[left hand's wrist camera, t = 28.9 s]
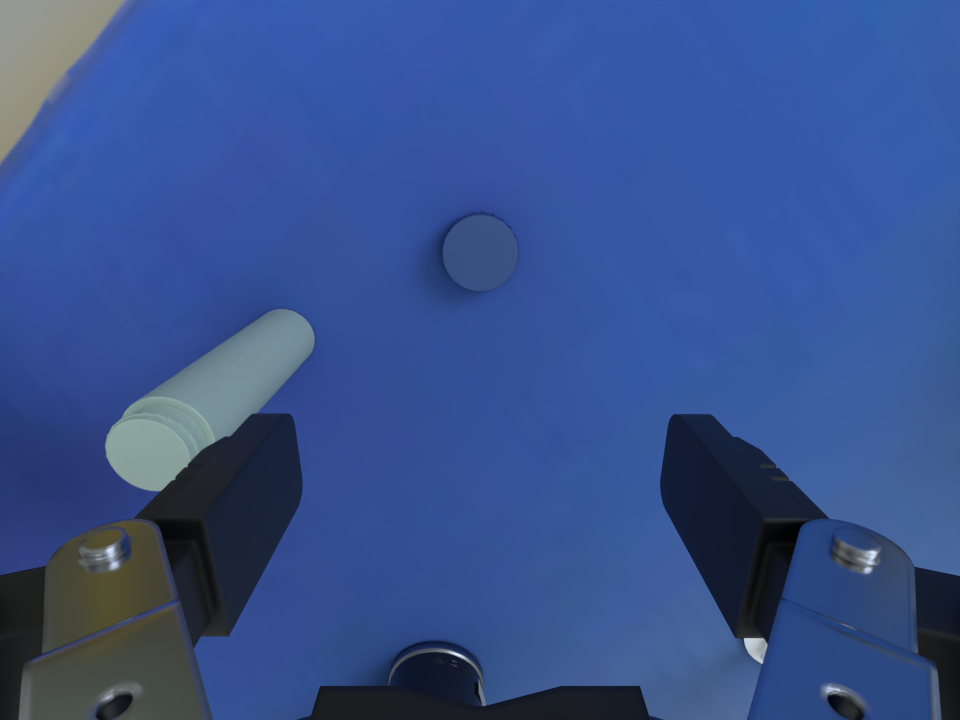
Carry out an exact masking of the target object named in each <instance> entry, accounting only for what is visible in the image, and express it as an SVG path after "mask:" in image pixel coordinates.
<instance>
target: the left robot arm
mask: <svg viewBox="0 0 960 720" xmlns="http://www.w3.org/2000/svg"><path fill="white" fill-rule="evenodd" d="M660 489H661V497H662V501H663V505H664V507H665V510H666V511H667V513H668V515H669V517H670V519H671V521H672V522H673V524H674V526H675V528H676V530H677V532H678V533H679V535H680V537H681V539H682V541H683V543H684V545H685V546H686V548H687V550H688V552H689V554H690V556H691V557H692V559H693V561H694V563H695V565H696V567H697V568H698V570H699V572H700V574H701V576H702V578H703V579H704V581H705V583H706V585H707V587H708V589H709V591H710V592H711V594H712V596H713V598H714V600H715V602H716V603H717V605H718V607H719V609H720V611H721V613H722V614H723V616H724V618H725V620H726V622H727V624H728V625H729V627H730V629H731V631H732V633H733V635H734V636H735V638H764V639H765V641H766V643H767V644H768V645H767V649H766V653H765V656H764V660H763V664H762V667H761V671H760V675H759V678H758V682H757V685H756V689H755V693H754V696H753V700H752V704H751V707H750V711H749V714H748V718H747V720H960V576H957V575H952V574H947V573H942V572H937V571H932V570H927V569H922V568H918V567H914V565H913V563H912V561H911V559H910V558H909V556H908V555H907V554H906V553H905V552H904V551H903V550H902V549H901V548H900V547H899V546H897V545H896V544H895V543H893V542H892V541H890V540H889V539H887V538H886V537H884V536H882V535H880V534H878V533H877V532H874V531H872V530H870V529H868V528H865V527H862V526H860V525H857V524H853V523H850V522H846V521H841V520H834V519H829V518H828V517H827V516H826V515H825V514H824V513H823V512H822V511H821V510H820V509H819V508H818V507H817V506H816V505H815V504H814V503H813V502H812V501H811V500H810V499H809V498H808V497H807V496H806V495H805V494H804V493H803V492H802V491H801V490H800V489H799V488H798V487H797V486H796V485H795V484H794V483H793V482H792V481H789V478H788V477H787V476H786V475H785V474H784V473H783V472H782V471H781V470H780V469H779V468H776V465H775V464H774V463H773V462H772V461H771V460H770V459H769V458H768V457H767V456H766V455H765V454H764V453H763V452H762V451H761V450H760V449H758V448H756V447H755V446H753V445H751V444H749V443H747V442H746V441H744V440H742V439H740V438H739V437H732V436H731V434H730V433H729V432H728V431H727V430H726V429H725V428H724V427H723V426H722V425H721V424H720V423H719V422H718V421H717V420H716V419H715V417H714V416H712V415H710V414H674V415H673V416H672V417H671V418H670V420H669V424H668V430H667V437H666V444H665V451H664V458H663V465H662V472H661V480H660ZM301 494H302V473H301V466H300V458H299V451H298V444H297V437H296V430H295V424H294V420H293V418H292V416H291V415H290V414H263V413H262V414H259V413H258V414H256V413H255V414H251V415H250V416H249V417H248V418H247V419H246V420H245V421H244V422H243V423H242V424H241V425H240V426H239V428H238V429H237V430H236V431H235V432H234V433H233V434H232V435H231V436H225V437H223V438H221V439H220V440H218V441H216V442H214V443H213V444H211V445H209V446H207V447H205V448H204V449H202V450H201V451H200V452H199V453H198V454H197V455H196V456H195V457H194V458H193V459H192V460H191V461H190V462H189V463H188V467H184V468H183V469H182V470H181V471H180V472H179V473H178V474H177V475H176V476H175V480H172V481H171V482H170V483H169V484H168V485H167V486H166V487H165V488H164V489H163V490H162V491H161V492H160V493H159V494H158V495H157V496H156V497H155V498H154V499H153V500H152V501H151V502H150V503H149V504H148V505H147V506H146V507H145V508H144V509H143V510H142V511H141V512H140V513H139V514H138V515H137V516H136V517H135V518H134V519H126V520H119V521H114V522H110V523H107V524H103V525H100V526H98V527H95V528H92V529H90V530H88V531H86V532H83V533H82V534H80V535H78V536H76V537H74V538H73V539H71V540H70V541H68V542H67V543H65V544H64V545H63V546H61V547H60V548H59V549H58V550H57V551H56V552H55V553H54V554H53V555H52V556H51V558H50V559H49V561H48V563H47V565H46V566H43V567H39V568H34V569H29V570H24V571H19V572H14V573H9V574H4V575H0V720H213V718H212V714H211V711H210V707H209V704H208V700H207V696H206V693H205V689H204V685H203V682H202V678H201V675H200V671H199V667H198V664H197V660H196V656H195V653H194V649H193V648H194V647H195V645H196V643H197V642H198V640H199V638H200V637H201V636H229V635H230V633H231V631H232V629H233V627H234V625H235V624H236V622H237V620H238V618H239V616H240V614H241V612H242V611H243V609H244V607H245V605H246V603H247V601H248V599H249V598H250V596H251V594H252V592H253V590H254V588H255V586H256V585H257V583H258V581H259V579H260V577H261V575H262V573H263V571H264V570H265V568H266V566H267V564H268V562H269V560H270V558H271V557H272V555H273V553H274V551H275V549H276V547H277V545H278V544H279V542H280V540H281V538H282V536H283V534H284V532H285V531H286V529H287V527H288V525H289V523H290V521H291V519H292V517H293V516H294V514H295V512H296V510H297V508H298V506H299V503H300V499H301ZM482 690H483V672H482V669H481V666H480V664H479V662H478V661H477V660H476V658H475V657H474V656H473V655H472V654H470V653H469V652H468V651H466V650H464V649H462V648H460V647H458V646H455V645H452V644H448V643H441V642H429V643H423V644H419V645H415V646H413V647H410V648H408V649H407V650H405V651H404V652H402V653H401V654H400V655H399V656H398V657H397V658H396V659H395V661H394V662H393V664H392V667H391V671H390V676H389V686H320V689H319V692H318V695H317V698H316V701H315V705H314V708H313V711H312V714H311V716H308V717H304V718H300V719H298V720H662V719H660V718H656V717H652V716H649V714H648V711H647V708H646V705H645V701H644V698H643V695H642V692H641V689H640V686H560V687H556V688H552V689H548V690H545V691H541V692H537V693H533V694H529V695H525V696H522V697H518V698H514V699H510V700H506V701H503V702H499V703H495V704H491V705H487V706H486V702H485V698H484V695H483V692H482ZM482 705H483V706H482Z"/></svg>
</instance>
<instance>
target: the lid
mask: <svg viewBox="0 0 960 720" xmlns="http://www.w3.org/2000/svg"><path fill="white" fill-rule="evenodd" d="M447 233H448V234H447V236H446V238H445V239H444V241H443V243H444V244H443V250H442V255H443V264H444V266H445V268H446V270H447V273H448V274H449V275H450V277H451V278H452V279H453V280H454V281H455V282H456V283H457V284H459V285H460V286H462V287H464V288H465V289H468V290H472V291H479V292H481V291H489V290H493V289H495V288H497V287H499V286H501V285H502V284H504V283H505V282H506V281H507V280H508V279H509V278H510V277H511V275H512V274H513V272H514V270H515V269H516V265H517V261H518V259H519V258H518V249H519V247H518V245H517V241H516V239H517V238H516V236H515V235H514V234H513V232H512V231H511V227H510V226H508V225H507V224H506V223H505V222H504V220H503V219H502V220H501V219H500V218H498V217H496V216H495V215H494V214H493V215H491V214H487V213H484V212H483V213H474V212H473V213H472V214H470V215H467V216H465V217H464V216H462V218H461V219H460V220H458V221H457V222H454V224H453V226H452V227H451V229H450V230H448V231H447Z"/></svg>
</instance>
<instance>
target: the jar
mask: <svg viewBox="0 0 960 720" xmlns="http://www.w3.org/2000/svg"><path fill="white" fill-rule="evenodd" d="M314 343H315V337H314V333H313V330H312V328H311V326H310V324H309V323H308V321H307V320H306V319H305V318H304V317H302V316H301V315H300V314H298V313H296V312H294V311H291V310H287V309H275V310H272V311H269V312H267V313H266V314H264V315H263V316H261V317H260V318H258V319H257V320H255V321H254V322H253V323H251V324H250V325H248V326H247V327H245V328H244V329H242V330H241V331H239V332H238V333H236V334H235V335H233V336H232V337H230V338H229V339H227V340H226V341H224V342H223V343H222V344H220V345H219V346H217V347H216V348H214V349H213V350H211V351H210V352H208V353H207V354H205V355H204V356H202V357H201V358H199V359H198V360H196V361H195V362H193V363H192V364H191V365H189V366H188V367H186V368H185V369H183V370H182V371H180V372H179V373H177V374H176V375H174V376H173V377H171V378H170V379H168V380H167V381H165V382H164V383H162V384H161V385H160V386H158V387H157V388H155V389H154V390H152V391H151V392H149V393H148V394H146V395H145V396H143V397H142V398H140V399H139V400H137V401H136V402H134V403H133V404H132V405H130V406H129V407H128V408H127V410H126V411H125V412H124V414H123V416H122V419H120V420H119V421H118V422H117V423H116V424H115V425H113V426H112V428H111V430H110V432H109V433H108V435H107V439H106V444H105V448H106V453H107V454H106V457H107V459H108V461H109V463H110V465H111V466H112V467H113V469H114V470H115V471H116V473H117V474H118V475H119V476H120V477H121V478H123V479H124V480H125V481H127V482H128V483H130V484H132V485H134V486H136V487H138V488H141V489H145V490H150V491H162V490H163V489H164V488H165V487H166V486H167V485H168V484H169V483H170V482H171V481H172V480H175V476H176V475H177V474H178V473H179V472H180V471H181V470H182V469H183V468H184V467H188V463H189V462H190V461H191V460H192V459H193V458H194V457H195V456H196V455H197V454H198V453H199V452H200V451H201V450H202V449H204V448H205V447H207V446H209V445H211V444H213V443H214V442H216V441H218V440H220V439H221V438H223V437H225V436H231V435H232V434H233V433H234V432H235V431H236V430H237V429H238V428H239V426H240V425H241V424H242V423H243V422H244V421H245V420H246V419H247V418H248V417H249V416H250V415H251V414H255V413H256V414H257V413H258V412H259V410H260V409H261V408H262V407H263V406H264V405H265V404H266V403H267V402H268V401H269V399H270V398H271V397H272V396H273V395H274V394H275V393H276V392H277V391H278V390H279V388H280V387H281V386H282V385H283V384H284V383H285V382H286V381H287V380H288V379H289V377H290V376H291V375H292V374H293V373H294V372H295V371H296V370H297V369H298V368H299V367H300V365H301V364H302V363H303V362H304V361H305V360H306V359H307V358H308V357H309V355H310V354H311V352H312V351H313V348H314Z"/></svg>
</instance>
